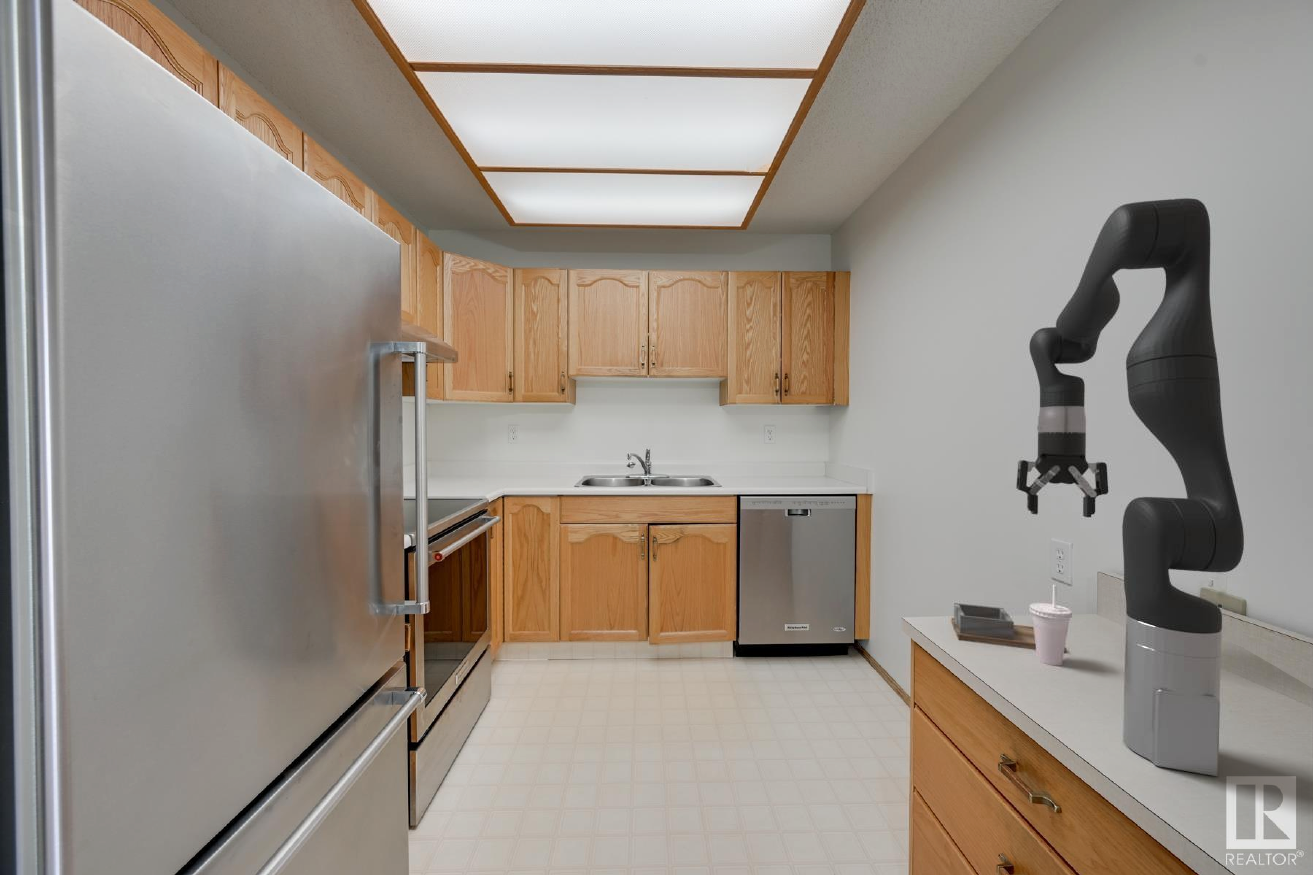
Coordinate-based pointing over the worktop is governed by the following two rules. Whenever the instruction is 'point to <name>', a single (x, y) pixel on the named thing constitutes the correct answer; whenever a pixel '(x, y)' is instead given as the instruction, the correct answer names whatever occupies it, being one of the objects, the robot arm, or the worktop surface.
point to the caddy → (990, 627)
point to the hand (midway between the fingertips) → (1060, 515)
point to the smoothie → (1050, 630)
